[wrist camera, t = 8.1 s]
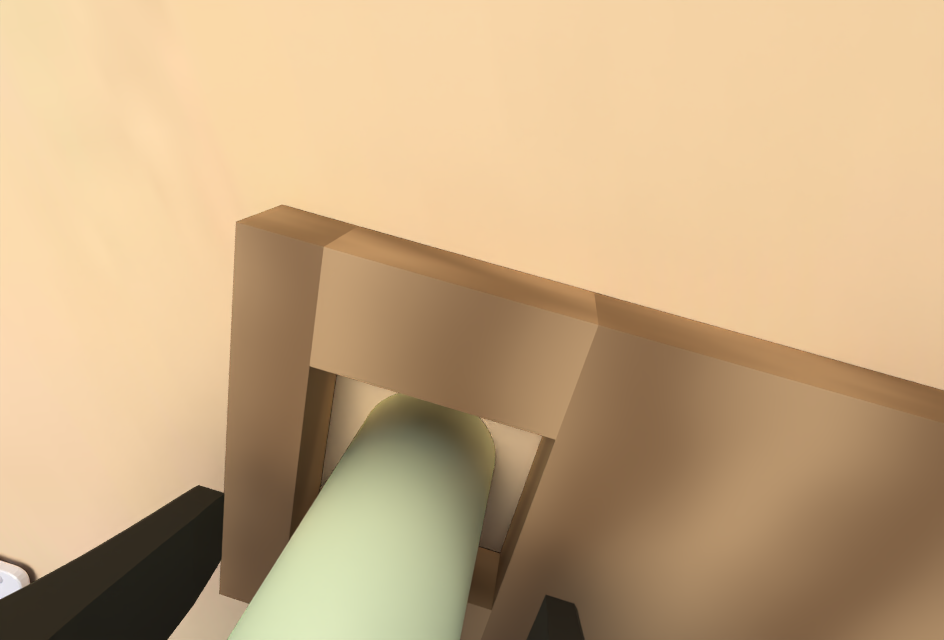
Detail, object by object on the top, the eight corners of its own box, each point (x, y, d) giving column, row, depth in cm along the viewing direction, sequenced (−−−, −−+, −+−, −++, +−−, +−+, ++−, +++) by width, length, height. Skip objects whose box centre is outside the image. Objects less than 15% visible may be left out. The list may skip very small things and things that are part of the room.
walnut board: (254, 543, 18) (219, 593, 16) (282, 204, 13) (235, 221, 11) (898, 751, 17) (938, 831, 15) (1199, 462, 12) (1314, 529, 10)
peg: (353, 481, 16) (178, 792, 9) (372, 373, 15) (178, 645, 7) (477, 520, 16) (402, 871, 9) (511, 414, 14) (454, 738, 7)
